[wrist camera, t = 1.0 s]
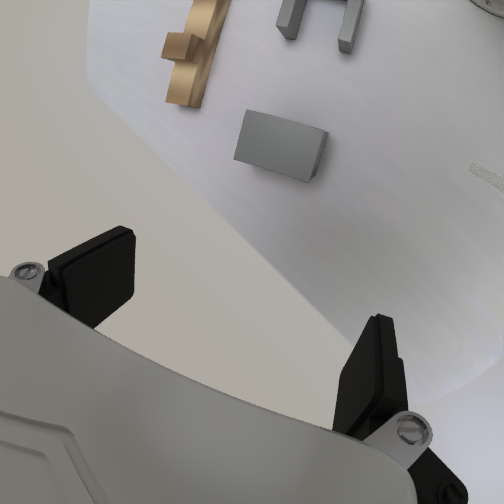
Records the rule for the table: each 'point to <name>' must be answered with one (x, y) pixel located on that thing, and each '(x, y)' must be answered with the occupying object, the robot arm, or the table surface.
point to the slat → (194, 51)
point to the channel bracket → (280, 145)
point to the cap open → (294, 10)
